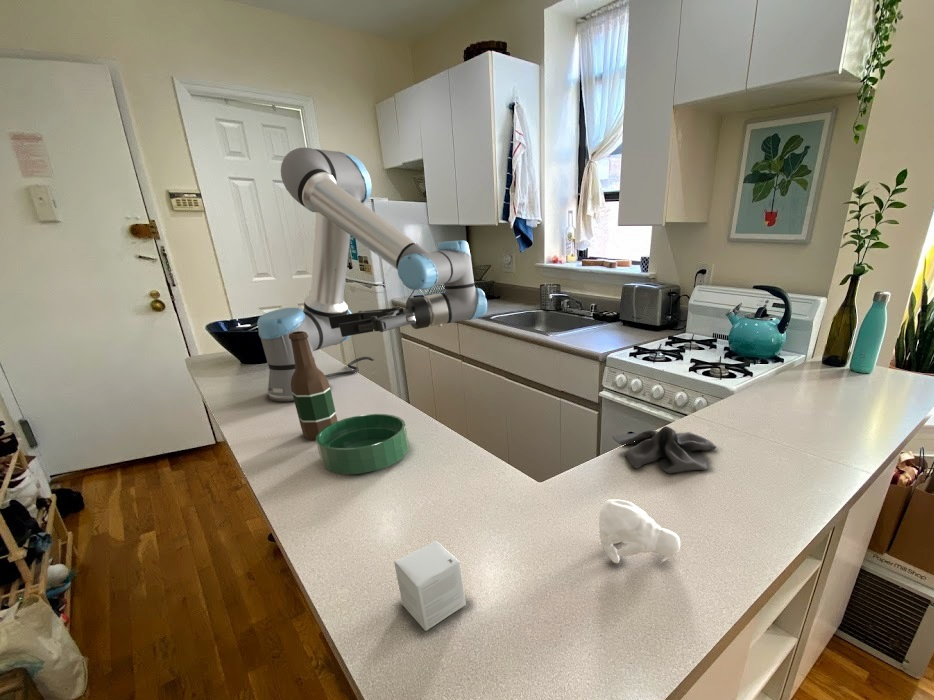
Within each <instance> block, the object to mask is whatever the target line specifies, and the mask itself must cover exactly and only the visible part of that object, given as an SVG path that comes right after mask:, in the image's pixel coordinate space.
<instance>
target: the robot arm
mask: <svg viewBox="0 0 934 700" xmlns="http://www.w3.org/2000/svg"><path fill="white" fill-rule="evenodd" d="M369 173H370V172H368V170H367V169H366V166H365V165H364V163H363V162H362V161H361V160H360V159H359V158H357V157H356V156H354V155H352V154H349V153H346V152H342V151H339V150H337V151H336V150H334V151H333V150H327V149H326V150H325V149H317V148H312V147H307V146H306V147H297V148H295V149H292V150H291V151H289V152H288V153H287V154H286V155H285V156H284V158H283V159H282V162H281V164H280V178H281V180H282V184H283V185H284V188H285V189H286V191H287V192H288V194H290V196H291V197H292V198H293V199H294V200H295V201H296V202H297V203H298V204H300V205H301V206H303V207H304V208H305V209H307V210H308V211H309V212H312V213H315V214H316V215H315V228H314V240H313V241H314V242H313V255H312V256H313V257H312V270H311V271H312V272H311V284H310V294H309V295H307V296H305V298H304V299H303V309H302V308H300V307H285V308H281V309H280V308H279V309H274V310H271V311H268V312H265V313H263V314H261V315H260V316H259V317H258V319H257V322H256V323H257V329H258V336H259V338H260V340H261V341H260V342H261V344H262V348H263V352H264V356H265V358H266V362H267V366H268V370H269V375H268V383H267V385H268V386H267V394H268V397H269V399H270V400H271V401H274V402H280V403H281V402H282V403H289V402H294V398H293V394H292V389H291V379H292V376H293V374H294V371H295V360H294V355H293V349H292V343H291V339H289V334H290V333H292V332H297V331H303V332H306V333H307V335H308V338H307V339H308V343H309V346H310V349H311V352H312V356H313V359H314V362H315V363H316V360H315V356H314V355H315V354H314V352H316V351H319V350H322V349H325V348H328V347H331V346H337V345H339V344H342V343H343V342H346V341H347V340H348V339H350V338H351V337H352V336H356V335H362V334H367V333H373V332H379V333H384V332H387V331H391V330H394V329H397V328H398V329H399V328H401V327H405V326H408V325H409V326H411V327H412V329H414V330H419V329H424V328H425V329H426V328H428V327H434V326H437V327H438V328H442V327H443V325H446V324H453V323H457V322H464V321H472V320H474V319H478V318H482V317H484V316H485V315H486V313H487V311H488V301H487V298H486V294H485V292H484V291H483V289H482V288H479V287H476V285H475V280H474V271H473V270H474V269H473V263H472V254H471V252H470V246H469V243H468V242H467V241H466V240H463V239H462V240H461V239H459V240H448V241H440V242H438V244H437V251H436V250H435V251H428V250H427V249H425V248H424V247H423V246H422V245H420V244H418V243H417V242H416V241H414V240H413V239H411V238H410V237H408V236H407V235H406V234H405V233H403V232H402V231H400V230H399V229H398V228H396V227H395V226H394V225H393V224H391V223H390V222H388V221H387V220H386V219H384V218H383V217H381V216H380V215H379V214H377V213H376V212H375V211H373V210H372V209H371V208H369V207H368V206H367V205H365V204H364V203H365V202H366V201H367V200H369V199H370V196H371V193H372V180H371V176H370V174H369ZM351 237H352V238H353V239H355V240H356V241H357V242H359V243H360V244H362V245H363V246H364V247H366V248H367V249H369V250H370V251H371V252H372V253H374V254H375V255H377V257H379V258H381V259H383V261H385V262H386V263H387V264H389V265H390V266H391V267H392V268H394V269H396V270H397V275H398V278H399V280H400V281H401V282H402V284H403V286H405V287H406V288H408V289H409V290H412V291H420V290H429V289H431V288H434V287H438V286H443V287H444V290H445V292H442V293H441V292H439V293H433V294H427V295H424V296H414V297H408V298H407V299H406V302H405V305H406V306H405V308H404V307H401V306H393V307H390V308H389V307H388V308H379V309H378V308H377V309H368V310H358V311H357V312H351V310H350V309H349V305H348V303H347V302H346V301H345V300H344V298H345V287H346V279H347V269H348V260H349V250H350V241H351ZM364 360H369V361H370V362H374V361H375V359H374V358H373V357H371V356H361V357H358V358H356V359H354V360H352V361H350V362H348V363H347V368H348V369H352V370H353V371H352V370H347V371H346V370H345V371H338V372H337V371H336V372H333V373H328V374H324V375H325V376H326V378H327V379H328V378H332V377H338V376H343V375H344V376H345V375H351V374H355V372H356V373H358V372H359V371H360V368H359V367H357V366H355V365H354V364H356V363H358V362H361V361H364ZM317 368H318V369H319V367H318V366H317Z"/></svg>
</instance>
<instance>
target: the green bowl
mask: <svg viewBox="0 0 934 700" xmlns="http://www.w3.org/2000/svg"><path fill="white" fill-rule="evenodd" d="M406 425H407V424H406V422H405V420H404V419H402V418H401V417H399V416H398V415H397V416H396V415H394V414H388V413H368V414H367V413H366V414H360V415H355V416H350V417H346V418H343V419H341V420H340V419H339V420H337V422H335V423H333V424H331V425H329V426H327V427H325V428H324V429H323V430H321V431H320V432H319V433H318V435H317V436H316V440H315V441H316V445H317V449H318V454H319V458H320V462H321V465H322V467H323V468H324V469H325V470H327V471H329V472H331V473H336V474H341V475H357V474H366V473H370V472H375V471H378V470H382V469H385V468H387V467H390V466H391V465H394V464H396V463H398V462H399V461H400V460H402V459H403V458H405V456H406V455H407V453H408V452H409V449H410V444H409V438H408V437H409V436H408V431H407V426H406Z"/></svg>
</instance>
